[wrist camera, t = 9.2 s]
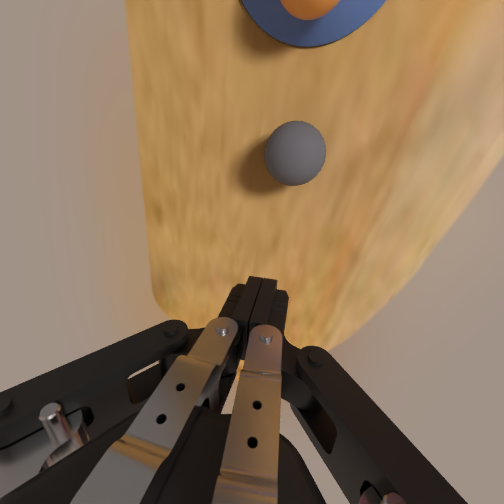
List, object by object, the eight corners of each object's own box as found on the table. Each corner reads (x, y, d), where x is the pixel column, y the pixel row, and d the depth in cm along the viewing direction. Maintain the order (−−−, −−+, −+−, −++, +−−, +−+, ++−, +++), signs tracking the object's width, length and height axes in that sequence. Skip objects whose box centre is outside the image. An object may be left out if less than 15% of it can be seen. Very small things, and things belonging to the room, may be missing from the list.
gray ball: (252, 186, 24) (263, 159, 28) (310, 204, 24) (313, 175, 28) (269, 125, 20) (278, 104, 24) (337, 146, 20) (336, 123, 24)
